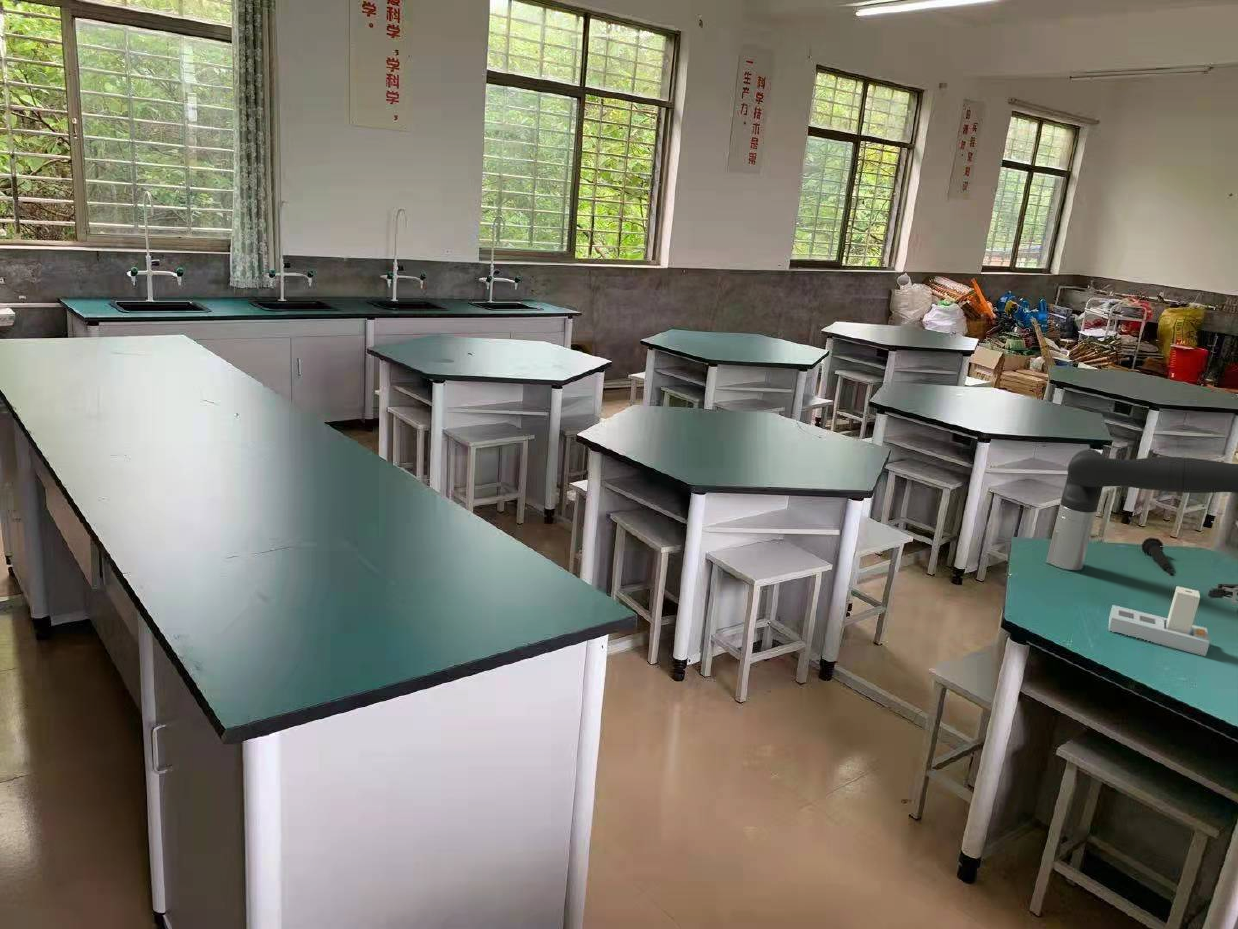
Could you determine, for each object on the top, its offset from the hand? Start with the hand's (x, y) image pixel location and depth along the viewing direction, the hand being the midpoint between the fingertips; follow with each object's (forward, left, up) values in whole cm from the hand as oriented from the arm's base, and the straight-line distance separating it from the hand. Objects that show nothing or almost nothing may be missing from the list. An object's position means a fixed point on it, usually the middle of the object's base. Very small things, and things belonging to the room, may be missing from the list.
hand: (1224, 601), depth 215 cm
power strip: (-12, -7, -10) cm, 18 cm away
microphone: (-11, +53, -11) cm, 55 cm away
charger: (-8, -7, -10) cm, 15 cm away
